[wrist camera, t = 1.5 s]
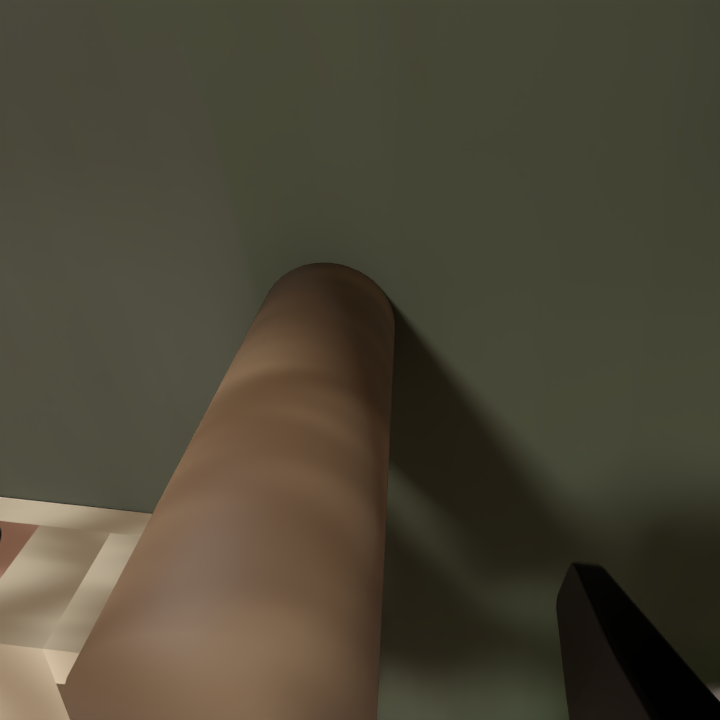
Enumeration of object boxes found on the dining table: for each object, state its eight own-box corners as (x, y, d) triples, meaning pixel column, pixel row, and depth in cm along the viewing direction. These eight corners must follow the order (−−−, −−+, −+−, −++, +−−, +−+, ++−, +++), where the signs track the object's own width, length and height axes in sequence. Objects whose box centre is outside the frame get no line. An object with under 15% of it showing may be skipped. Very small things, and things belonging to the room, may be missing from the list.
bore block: (289, 528, 19) (254, 673, 15) (288, 661, 23) (261, 803, 19) (-107, 485, 19) (-251, 614, 15) (-38, 623, 24) (-136, 754, 19)
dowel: (402, 269, 14) (391, 656, 5) (388, 388, 16) (363, 813, 7) (260, 255, 14) (30, 615, 6) (262, 375, 16) (94, 780, 7)
